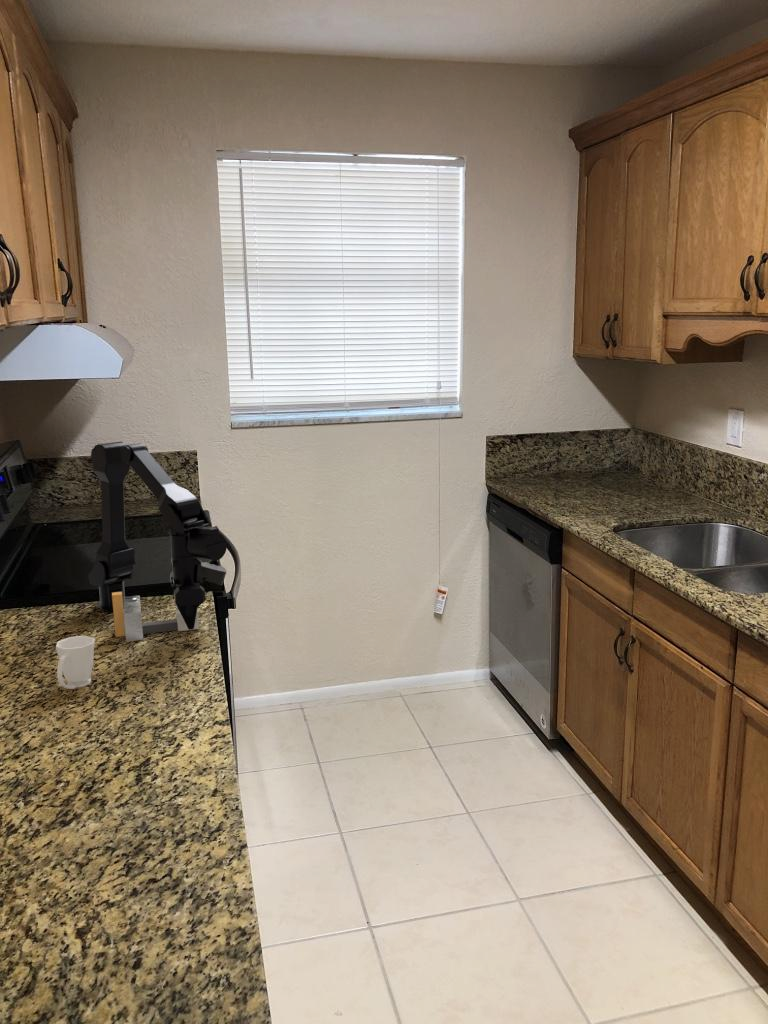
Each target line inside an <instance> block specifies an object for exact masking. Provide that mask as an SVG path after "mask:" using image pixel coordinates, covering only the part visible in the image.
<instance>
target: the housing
mask: <svg viewBox="0 0 768 1024" xmlns="http://www.w3.org/2000/svg"><path fill="white" fill-rule="evenodd" d="M123 611H124V623H125V635H126V636H125V642H127V643H129V642H135V641H143V640H144V634H143V630H142V623H143V621H142V619H143V618H142V606H141V596H140V595H131V596H125V597H124V608H123Z"/></svg>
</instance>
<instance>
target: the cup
mask: <svg viewBox="0 0 768 1024" xmlns="http://www.w3.org/2000/svg"><path fill="white" fill-rule="evenodd" d="M55 648H56V653H57V656H58V663H57V671H56V673H57V681H58V684H59V686H61V687H62V688H65V689H67V690H74V689H76V688H84V687H86V686H88V685H91V683H92V678H91V677H92V671H93V666H94V655H95V654H94V652H95V637H91V636H89V635H88V636H87V635H78V636H69V637H66V638H64V639H61V640H59V641H57V643H56V645H55ZM63 676H64V677H63ZM64 679H65V680H66V681H67V684H66V683H65V682H64Z"/></svg>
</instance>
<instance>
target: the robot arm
mask: <svg viewBox="0 0 768 1024" xmlns="http://www.w3.org/2000/svg"><path fill="white" fill-rule="evenodd" d="M90 459H91V466H92V470H93V472H94V473H95V475H96V476H97V478H98V479H99V481H100V495H101V496H100V497H101V502H100V503H101V521H102V522H101V525H102V526H101V527H102V541H101V544H100V546H99V548H98V549H97V551H96V553H95V565H94V566H93V567H92V569H91V570H90V572H89V573H88V575H87V578H88V581H89V584H90V585H91V586H95V587H98V592H99V602H97V603H95V607H97V608H98V609H100V610H101V611H102V612H106V613H107V612H111V611H113V601H112V593H114V592H122V599H123V609H124V597H126V594H125V581H127V580H132V578H133V572H134V568H135V565H136V561H135V553H136V551H135V549H134V548H132V547H130V545H129V544H128V543H127V541H126V527H125V526H126V524H125V494H124V492H125V489H124V483H125V482H124V481H125V479H126V477H127V476H128V474H129V472H130V469H133V471H134V472H135V474H137V476H138V477H139V478H140V480H141V481H142V482H143V483H144V485H146V487H147V488H148V489H149V491H150V492H151V493H152V494H153V496H155V498H156V500H157V502H158V503H157V504H158V505H157V507H158V510H159V512H160V514H161V515H162V517H163V519H164V521H166V523H167V525H166V526H165V527H164V528H163V533H166V534H169V535H170V536H169V538H170V551H171V552H170V553H171V557H170V558H171V559H170V561H171V562H170V563H171V567H172V571H171V572H170V573H169V576H170V578H169V580H170V584H171V588H172V590H173V595H174V596H173V597H174V603H175V605H176V608H178V609H179V611H180V613H181V615H182V617H183V619H184V621H185V623H186V625H187V627H188V629H189V630H188V631H191V630H190V629H194V625H195V619H196V614H197V609H198V608H199V607H200V606H201V605H203V604H204V603H205V602H206V600H207V599H206V590H205V588H204V586H202V585H201V584H203V581H205V582H209V583H214V584H215V585H217V586H223V585H224V581H225V579H226V578H225V577H226V575H227V569H226V568H225V566H223V565H220V563H219V561H220V560H221V559H222V558H223V557H224V556H225V555H226V552H227V548H228V547H227V546H228V542H227V540H226V538H225V537H224V535H222V534H221V533H219V532H220V531H219V528H218V527H214V526H213V527H211V526H212V523H211V521H210V520H209V519H210V518H209V517H208V516H207V514H206V512H205V510H204V508H203V507H202V505H201V502H200V501H199V499H198V498H197V497H196V496H195V495H194V494H193V493H191V492H190V491H189V490H188V489H186V488H183V487H181V486H179V485H177V483H175V482H174V480H173V479H172V478H171V477H170V476H169V475H168V473H167V472H166V471H165V470H164V468H162V466H160V464H159V463H158V462H157V461H156V459H155V458H154V457H153V455H152V454H150V452H149V448H148V446H147V445H145V444H144V443H141V442H140V443H132V444H126V443H125V442H123V441H114V442H106V443H97V444H96V445H94V447H93V448H91V452H90ZM202 559H203V560H204V559H205V560H208V561H204V562H203V561H202ZM194 630H195V629H194Z"/></svg>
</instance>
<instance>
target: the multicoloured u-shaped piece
mask: <svg viewBox="0 0 768 1024" xmlns="http://www.w3.org/2000/svg"><path fill="white" fill-rule="evenodd" d="M112 601H113V610H112V611H113V621H114V634H115V635H114V636H115V637H116V638H118V637H126V635H125V623H124V608H123V599H122V592H114V593H112ZM175 614H176V615H175V617H176V618H173V619H165V620H156V621H148V622H142V630H143V635H146V634H154V633H163V632H172V631H173V632H174V631H177V632H183V631H185V632H186V631H193V630H199V629H200V622H199V621H200V620H199V619H200V618H199V609H198V608H197V614H196V619H195V625H194V629H190V630H189V629H188V627H187V625H186V623H185V621H184V619H183V617H182V615H181V613H180V611H179V609H178V608H177V607H176V608H175Z"/></svg>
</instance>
